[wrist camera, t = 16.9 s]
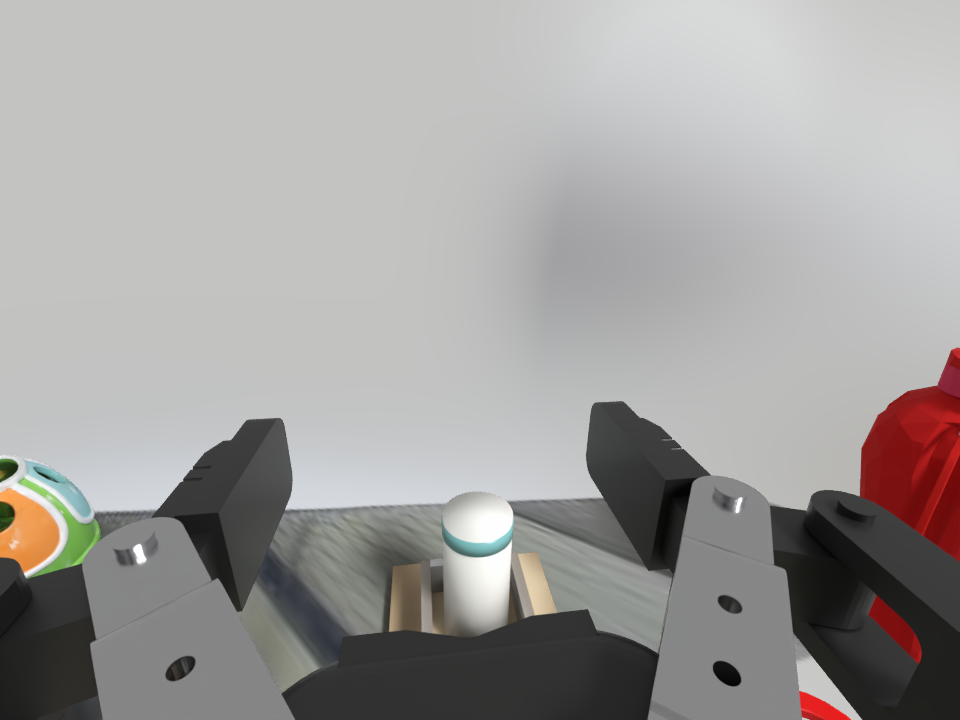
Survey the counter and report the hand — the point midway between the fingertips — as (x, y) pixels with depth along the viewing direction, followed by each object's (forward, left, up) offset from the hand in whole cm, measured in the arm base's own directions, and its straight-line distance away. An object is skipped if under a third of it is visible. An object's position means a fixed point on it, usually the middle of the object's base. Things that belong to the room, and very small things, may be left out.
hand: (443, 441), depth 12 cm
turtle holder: (-39, +27, -28) cm, 55 cm away
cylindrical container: (+3, +16, -27) cm, 31 cm away
